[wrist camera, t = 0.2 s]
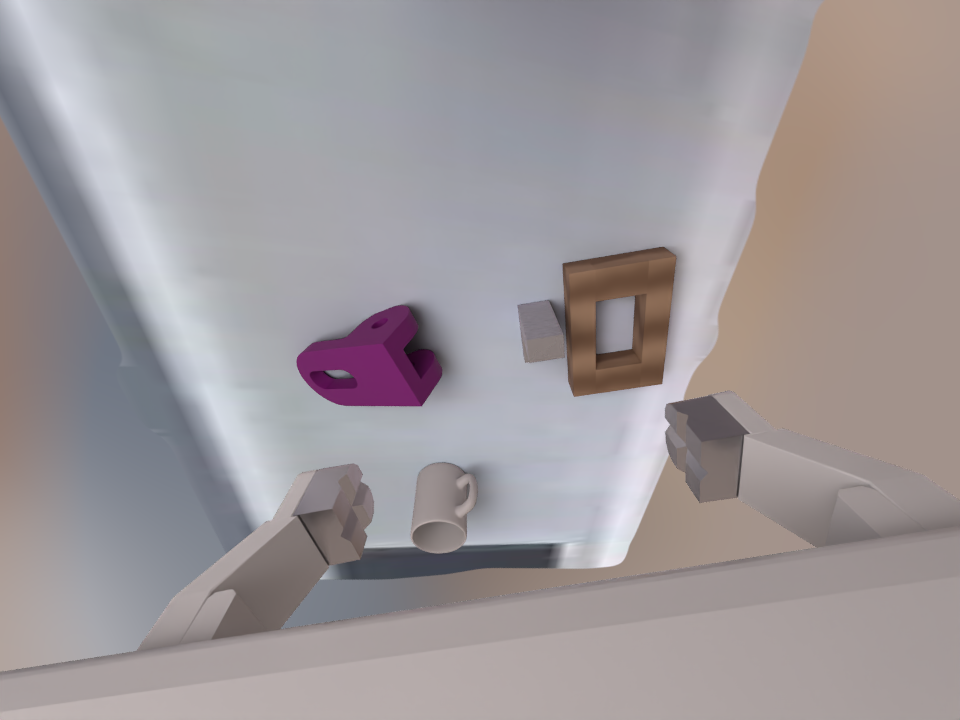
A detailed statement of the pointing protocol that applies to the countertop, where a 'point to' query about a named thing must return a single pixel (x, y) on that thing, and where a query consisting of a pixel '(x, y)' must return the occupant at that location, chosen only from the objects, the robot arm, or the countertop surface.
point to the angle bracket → (540, 332)
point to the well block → (653, 294)
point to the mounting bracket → (373, 364)
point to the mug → (442, 507)
